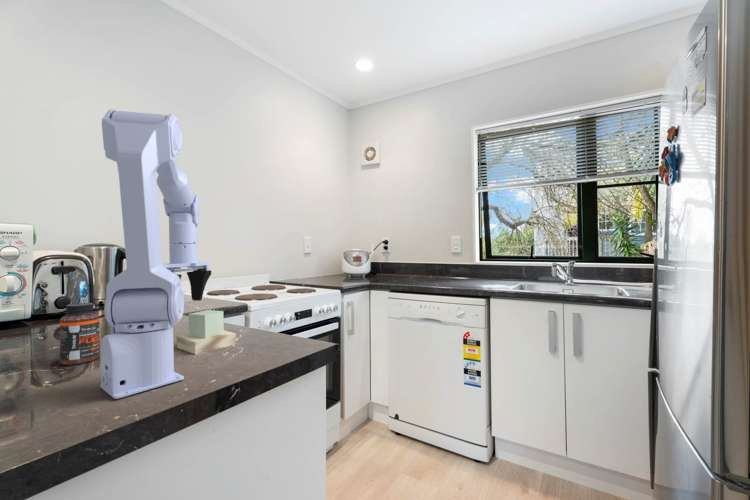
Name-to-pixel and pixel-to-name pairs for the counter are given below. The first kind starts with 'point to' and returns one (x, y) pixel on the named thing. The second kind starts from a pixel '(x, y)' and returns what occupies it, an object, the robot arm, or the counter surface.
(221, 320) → the sage cube
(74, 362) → the supplement bottle
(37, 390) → the counter surface
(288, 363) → the counter surface
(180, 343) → the maple slab
